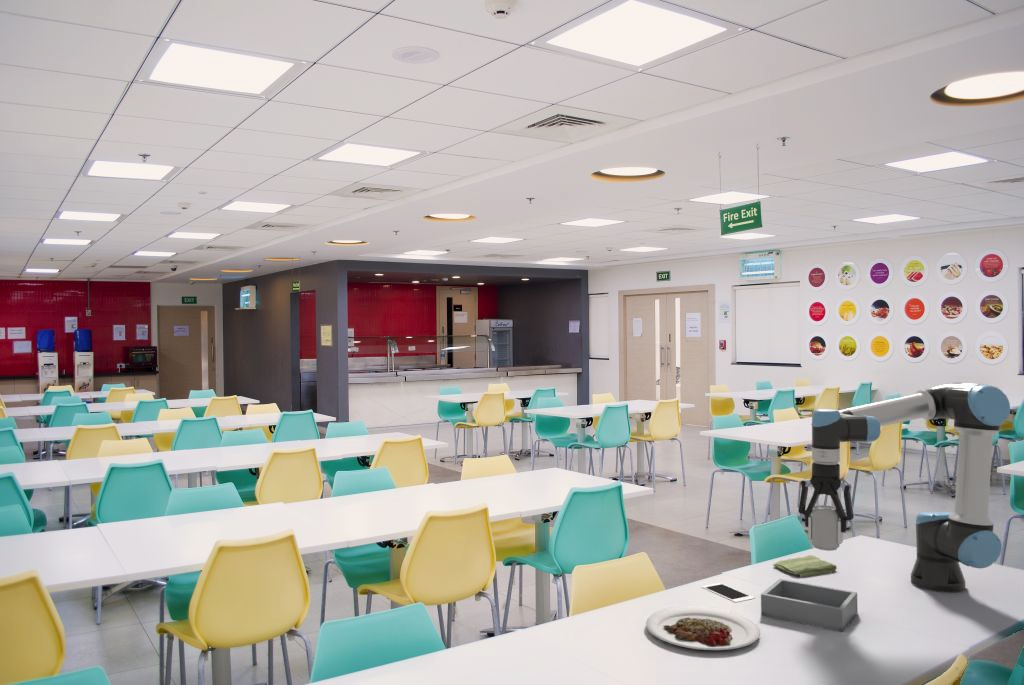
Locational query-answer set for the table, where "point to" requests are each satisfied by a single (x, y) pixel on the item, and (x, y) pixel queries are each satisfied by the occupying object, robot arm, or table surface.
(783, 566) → the washcloth
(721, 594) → the cell phone
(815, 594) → the bin
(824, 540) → the can
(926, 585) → the robot arm
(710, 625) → the plated food
